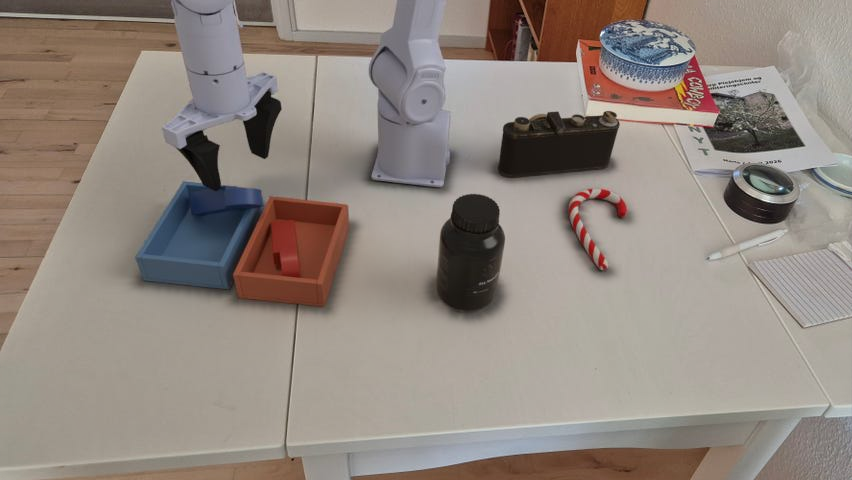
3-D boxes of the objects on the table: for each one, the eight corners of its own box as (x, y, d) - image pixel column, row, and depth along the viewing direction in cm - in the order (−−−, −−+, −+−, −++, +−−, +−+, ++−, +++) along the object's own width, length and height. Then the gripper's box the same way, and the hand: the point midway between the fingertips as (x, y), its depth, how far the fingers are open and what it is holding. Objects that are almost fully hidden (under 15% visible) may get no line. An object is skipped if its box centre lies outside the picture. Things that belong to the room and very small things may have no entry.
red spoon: (296, 239, 79) (274, 241, 79) (292, 210, 77) (269, 212, 76) (302, 291, 71) (277, 294, 71) (298, 260, 69) (272, 263, 68)
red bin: (349, 226, 81) (348, 204, 78) (324, 307, 71) (321, 284, 69) (273, 218, 81) (269, 195, 78) (238, 297, 71) (232, 274, 69)
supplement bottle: (490, 319, 72) (503, 236, 64) (429, 306, 73) (433, 222, 64) (501, 276, 77) (514, 194, 69) (444, 264, 78) (450, 181, 69)
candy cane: (577, 262, 78) (566, 184, 89) (575, 270, 79) (564, 192, 90) (642, 266, 78) (623, 188, 89) (639, 274, 79) (621, 196, 90)
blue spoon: (181, 214, 77) (180, 192, 77) (211, 216, 80) (210, 194, 80) (240, 203, 71) (239, 179, 71) (270, 205, 75) (268, 182, 75)
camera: (595, 143, 99) (607, 95, 93) (613, 170, 94) (627, 121, 89) (489, 152, 94) (494, 102, 89) (502, 181, 90) (509, 130, 84)
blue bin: (265, 212, 81) (261, 189, 79) (229, 289, 72) (223, 266, 69) (189, 203, 81) (183, 180, 79) (143, 280, 72) (134, 256, 69)
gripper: (188, 104, 62) (215, 216, 71) (293, 47, 71) (305, 153, 81) (134, 80, 64) (167, 191, 74) (243, 28, 74) (260, 133, 83)
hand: (236, 170), depth 77 cm, fingers open, 7 cm apart
